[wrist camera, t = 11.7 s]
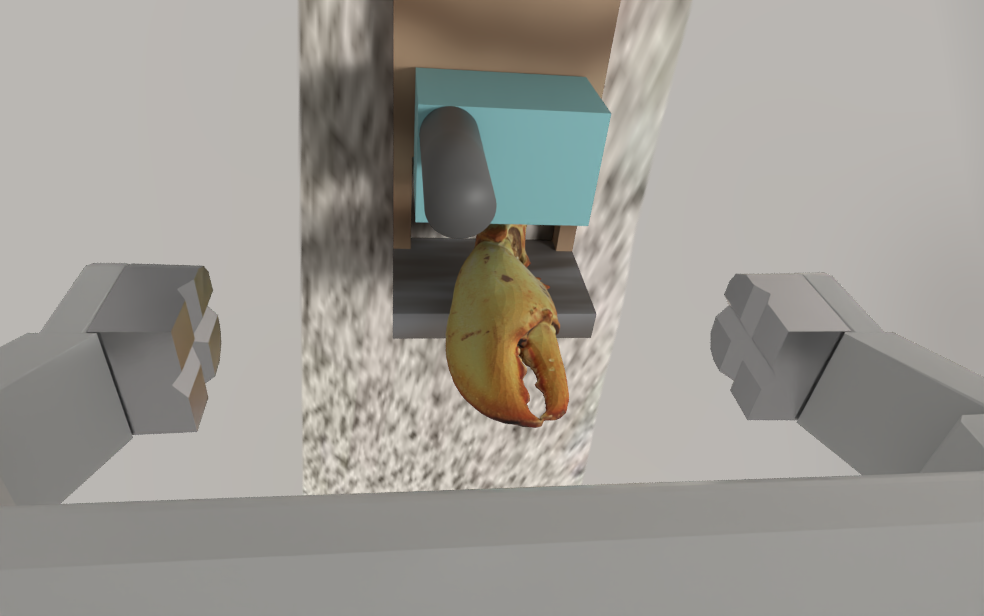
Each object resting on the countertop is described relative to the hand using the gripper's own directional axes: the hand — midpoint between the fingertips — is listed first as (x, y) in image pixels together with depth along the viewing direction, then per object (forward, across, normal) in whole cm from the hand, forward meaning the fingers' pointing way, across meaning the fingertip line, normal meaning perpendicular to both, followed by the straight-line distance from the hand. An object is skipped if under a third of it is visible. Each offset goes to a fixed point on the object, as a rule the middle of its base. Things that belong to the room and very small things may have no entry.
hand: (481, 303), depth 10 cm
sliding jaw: (+31, -5, +10) cm, 33 cm away
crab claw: (+33, -5, +16) cm, 37 cm away
